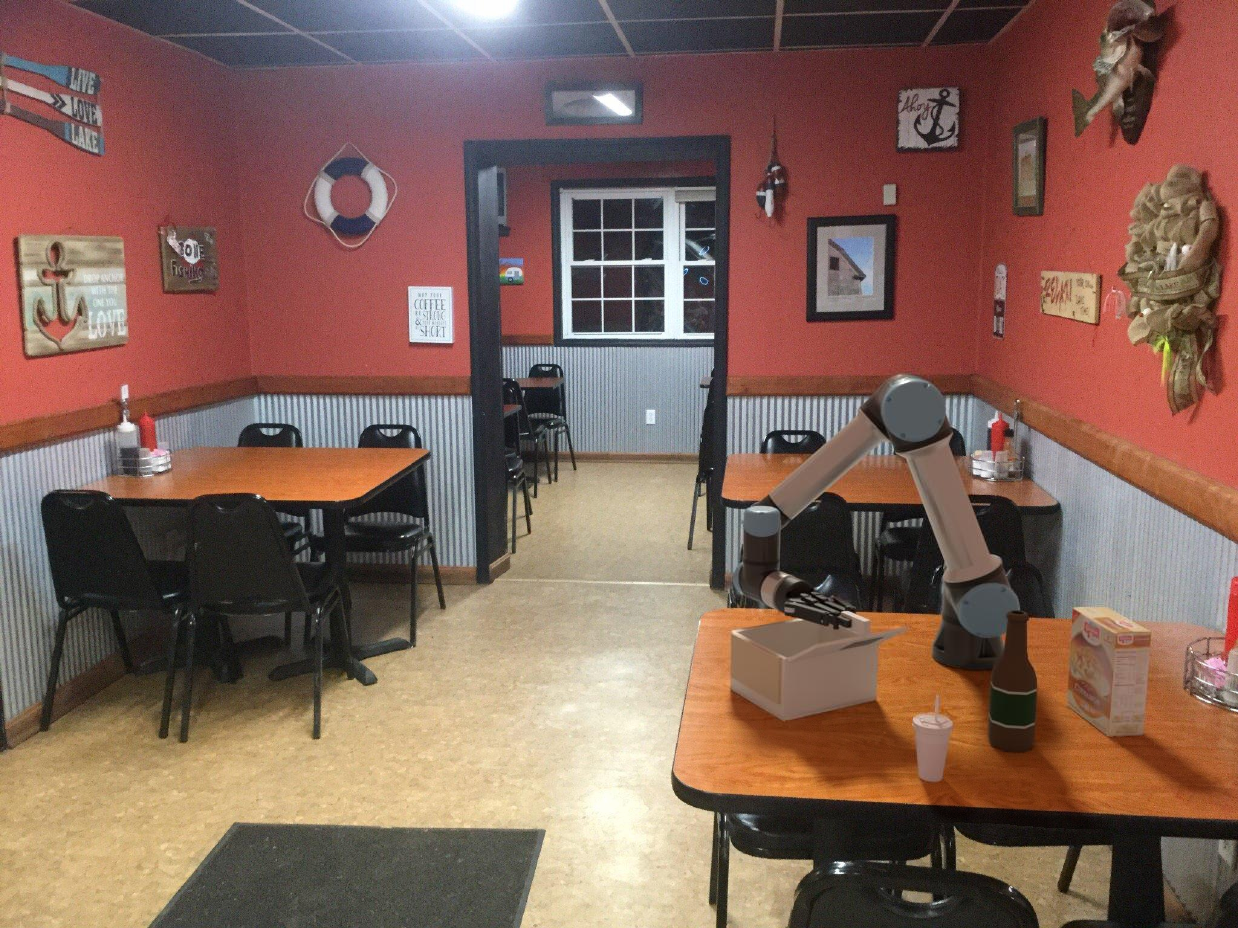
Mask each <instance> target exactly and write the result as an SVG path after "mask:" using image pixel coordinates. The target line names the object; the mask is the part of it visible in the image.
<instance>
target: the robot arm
mask: <svg viewBox="0 0 1238 928" xmlns="http://www.w3.org/2000/svg"><path fill="white" fill-rule="evenodd" d="M946 409H947V408H946V402H945V398H944V397H943V394H942V393H941V391H940V390H939V389H938V387H936V385H934V384H933V383H932V382H931V381H928V380H926V379H924V378H923V377H921V376H920V375H916V374H914V373H907V372H906V373H899V374H896V375H892V376H891V377H890V378H888V379H887V380H885V381H884V382H883V383H882V384H881V385H879V387H878V388H877V389H876V391H874V393H872V395H870V397H869V398H868V399H867V400H866V401H865V402H863V403H862V404H861V405H860V406H859V407H858V408H857V415H856V416H855V417H854V418H853V419H852V420H850V422H848V423H846V425H845V426H844V427H842V428H841V429H840V430H839V431H838V432H837V433H836V434H835V435H833V436H832V437H831V438H830V439H828V441H826V443H824V444H823V445H822V446H821V447H820V448H819V449H818V450H817V451H815V452H814V453H813V454H812V455H811V456H810V457H808V459H806V460H805V461H804V462H803V463H801V464H800V465H799V466H798V467H797V468H796V469H795V470H793V472H791V473H790V474H789V475H788V476H786V478H785V479H783V480H782V481H781V482H780V483H779V484H778V485H777V486H775V488H773V489H772V490H771V491H770V492H769V493H768V494H767V495H765V496H764V498H762V499H761V500H760V501H758V502H755V503H753V504H752V505H751V506H750V507H747V508H746V509H745V510H744V513H743V520H742V529H743V531H742V532H743V533H742V534H743V535H742V536H743V538H742V541H743V542H742V544H743V545H742V547H743V548H742V550H743V551H742V553H743V557H742V561H741V562H740V563H739V564H737V566H736V567H735V571H734V573H733V576H732V582H733V586H734V588H735V590H737V591H738V593H740V594H741V595H743V596H744V597H745V598H748V599H749V600H752V601H756V602H758V603H761V604H763V605H765V606H767V607H769V608H772V609H774V610H776V611H777V613H782V614H783V615H784V616H785V617H790V618H793V619H798V618H799V619H803V620H806V621H809V622H813V623H816V624H820V625H823V626H829V623H830V624H832V625H833V629H835V630H838V629H839V625H840V626H842V627H844V628H846V629H848V630H851V631H853V632H855V633H858V634H860V635H862V636H867V635H870V634H871V623H872V622H871V620H870V619H869V618H865V617H864V616H861V615H859V614H857V607H856V606H854V605H852V604H851V603H850V602H848V601H846V600H845V599H843V598H842V597H840V594H838V593H834V594H832V595H831V596H830V597H826V595H824V594H823V593H820V592H816V590H815V589H814V587H813V585H812V584H811V583H810V582H808V581H807V580H804V579H801V578H798V577H796V576H794V575H792V574H788V573H786V572H784V571H781V570H780V563H781V561H780V559H781V558H780V557H781V556H780V555H781V554H780V551H781V530H782V529H783V528H784V527H786V526H787V525H788V524H789V523H790V522H792V520H793V519H794V518H796V517H797V516H798V515H800V513H802V512H803V510H805V509H806V508H807V507H808V506H809V505H811V504H812V503H813V502H814V501H816V500H817V499H818V498H819V497H820V496H821V495H822V494H824V493H825V492H826V491H827V490H828V489H830V488H831V486H833V485H834V484H835V483H836V482H837V481H838V480H840V479H841V478H842V477H843V476H844V475H846V474H847V473H848V472H849V471H850V470H851V469H853V468H854V467H855V466H856V465H857V464H858V463H859V462H860V461H862V460H863V459H864V458H865V457H867V456H868V454H870V453H871V452H872V451H873V450H874V449H876V448H877V447H878V446H879V445H880V444H881V443H890V442H891V445H892V447H893V450H894V453H895V454H896V455H898V456H900V457H903V458H904V459H906V462H907V465H908V468H909V471H910V473H911V477H912V479H913V481H914V484H915V486H916V488H917V489H916V490H917V491H918V493H919V497H920V499H921V502H922V504H923V508H924V509H925V512H926V515H927V517H928V521H929V523H930V525H931V529H932V531H933V534H934V536H935V539H936V541H937V544H938V547H939V549H940V552H941V554H942V557H943V560H944V564H943V568H942V569H943V575H942V580H943V585H942V587H943V589H942V607H941V608H942V609H941V611H942V612H941V622H940V625H939V627H938V630H937V632H936V635H935V637H934V640H933V642H932V646H931V656H932V658H933V659H934V660H936V661H937V662H938V663H941V664H943V665H945V666H948V667H949V666H950V667H953V668H957V669H962V670H971V671H972V670H973V671H985V670H992V669H993V667H994V665H995V663H996V662H997V660H998V659H999V658H1000V657H1001V656H1002V654H1003V650H1004V645H1005V642H1004V640H1003V635H1004V634H1005V635H1006V629H1007V621H1008V619H1007V617H1006V615H1007V612H1009V611H1012V610H1020V611H1021V608H1020V601H1019V597H1018V595H1017V594H1016V593H1015V591H1014V590H1013V588H1012V587H1011V584H1010V582H1009V580H1008V577H1007V573H1006V571H1005V568H1004V566H1003V559H1002V558H1001V557H1000V556H998V555H996V554H991V553H990V551H989V548H988V546H987V543H986V541H985V537H984V535H983V533H982V530H981V528H980V525H979V522H978V519H977V516H976V514H975V511H974V508H973V506H972V503H971V501H970V498H969V494H968V493H967V489H966V487H965V484H964V482H963V479H962V477H961V474H960V470H959V469H958V465H957V463H956V461H955V458H954V454H953V453H952V449H951V448H950V441H951V439H952V436H953V435H954V431H953V429H952V426H951V423H950V421H949V418H948V416H947V413H946V412H947V410H946Z"/></svg>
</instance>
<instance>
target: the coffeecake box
mask: <svg viewBox="0 0 1238 928" xmlns="http://www.w3.org/2000/svg"><path fill="white" fill-rule="evenodd" d="M1071 619H1072V620H1071V633H1070V634H1071V635H1070V647H1069V662H1068V663H1069V664H1068V676H1067V677H1068V679H1067V683H1068V684H1067V692H1066V693H1067V696H1066V704H1065V705H1066V706H1067V707H1068V708H1070V709H1071V710H1073V711H1074V713H1076V714H1077V715H1079V716H1080V717H1082V718H1083V719H1084V720H1086V721H1087V722H1088V723H1089V724H1091V725H1092V726H1093V727H1094V728H1096V729H1098V731H1100V732H1102V733H1103V734H1104V735H1105V734H1106V735H1105V736H1106V737H1108V738H1109V737H1111V738H1113V736H1117V737H1126V736H1129V737H1131V736H1134V737H1135V736H1143V735H1144V731H1145V729H1144V728H1145V727H1144V726H1145V720H1146V719H1145V718H1146V717H1145V716H1146V707H1147V706H1146V704H1147V703H1146V701H1147V694H1148V693H1147V691H1148V678H1149V666H1150V664H1149V663H1150V653H1151V642H1152V641H1151V639H1152V631H1151V630H1149V629H1147V628H1145V627H1143V626H1141V625H1140V624H1138V623H1137V622H1134V621H1133V620H1131V619H1130V618H1127V617H1125V616H1124V615H1122V614H1120V613H1118V612H1117V611H1115V610H1113V609H1111V608H1109V607H1107V606H1095V607H1093V606H1077V607H1076V606H1075V607H1072V618H1071Z"/></svg>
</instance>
